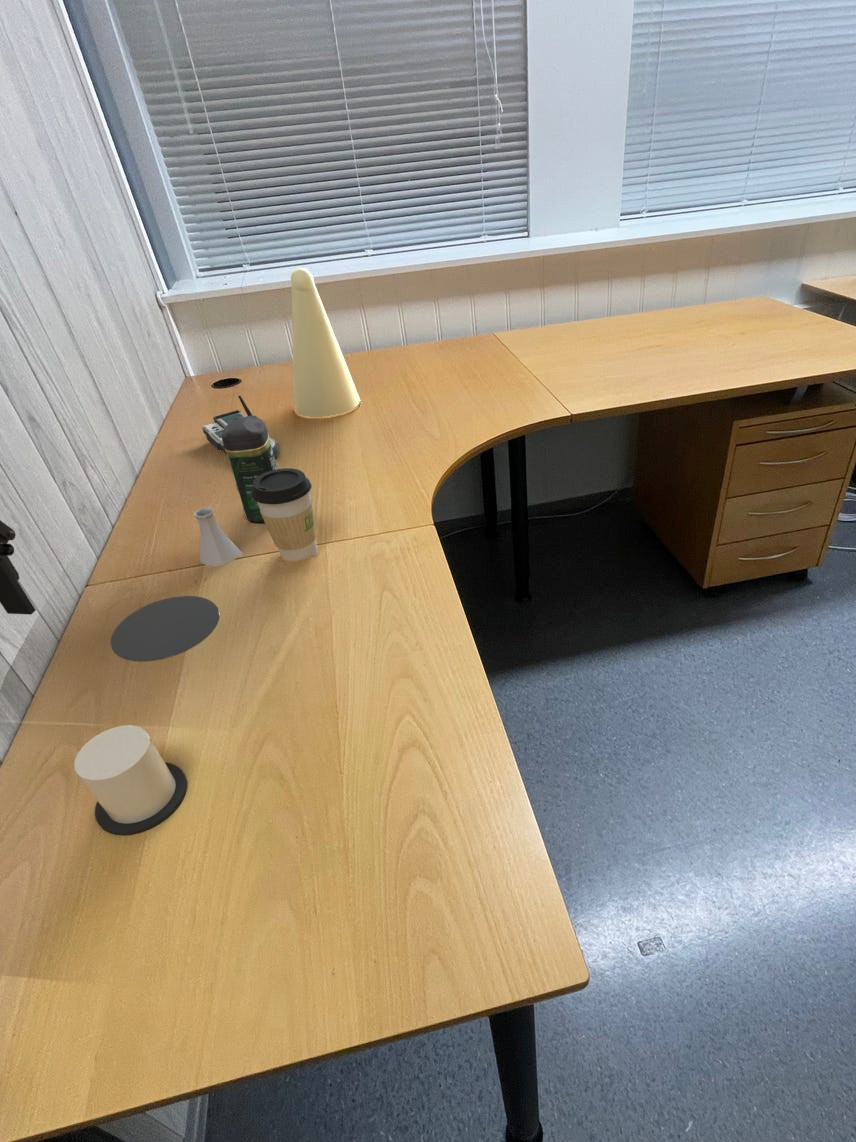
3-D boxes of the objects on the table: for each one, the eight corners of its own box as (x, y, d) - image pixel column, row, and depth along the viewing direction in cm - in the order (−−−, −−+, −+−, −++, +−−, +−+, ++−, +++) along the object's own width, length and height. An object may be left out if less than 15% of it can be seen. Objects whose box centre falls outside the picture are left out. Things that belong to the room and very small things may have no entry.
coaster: (78, 832, 70) (76, 830, 69) (125, 762, 77) (124, 759, 77) (161, 838, 69) (160, 835, 68) (201, 766, 76) (200, 763, 76)
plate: (92, 665, 92) (88, 659, 91) (147, 600, 104) (144, 594, 103) (194, 669, 90) (191, 662, 89) (238, 602, 102) (235, 596, 101)
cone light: (293, 399, 176) (259, 256, 153) (357, 391, 179) (333, 249, 156) (294, 431, 158) (256, 274, 135) (366, 422, 160) (340, 266, 138)
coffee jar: (285, 522, 122) (259, 429, 110) (244, 526, 121) (213, 433, 109) (290, 499, 129) (266, 410, 117) (252, 503, 129) (223, 414, 117)
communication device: (243, 473, 141) (231, 435, 135) (204, 442, 155) (192, 406, 149) (291, 456, 146) (281, 420, 140) (249, 428, 161) (239, 393, 155)
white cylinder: (93, 821, 70) (58, 778, 65) (128, 767, 76) (99, 723, 71) (156, 825, 69) (126, 782, 64) (187, 771, 75) (162, 726, 70)
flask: (226, 575, 109) (208, 524, 102) (192, 569, 110) (172, 519, 104) (250, 553, 114) (234, 504, 107) (217, 548, 116) (199, 499, 109)
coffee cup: (338, 549, 113) (321, 473, 103) (301, 577, 107) (279, 498, 97) (299, 537, 117) (278, 462, 108) (260, 563, 111) (235, 486, 101)
